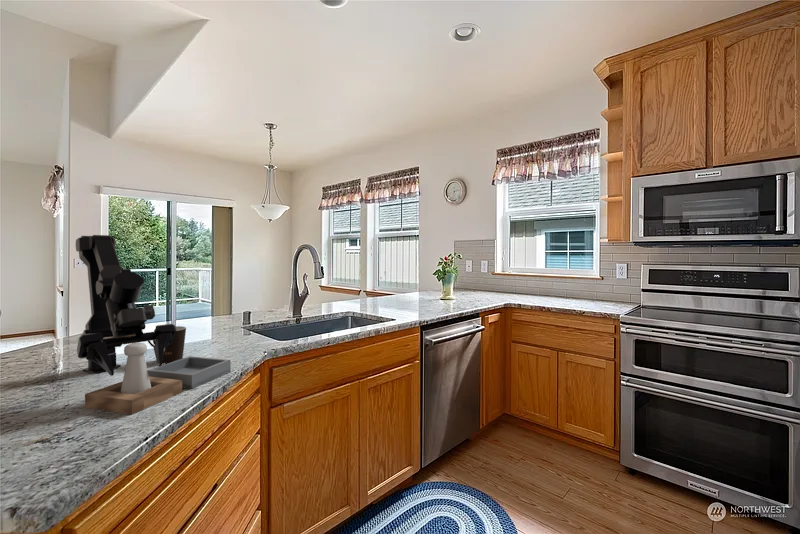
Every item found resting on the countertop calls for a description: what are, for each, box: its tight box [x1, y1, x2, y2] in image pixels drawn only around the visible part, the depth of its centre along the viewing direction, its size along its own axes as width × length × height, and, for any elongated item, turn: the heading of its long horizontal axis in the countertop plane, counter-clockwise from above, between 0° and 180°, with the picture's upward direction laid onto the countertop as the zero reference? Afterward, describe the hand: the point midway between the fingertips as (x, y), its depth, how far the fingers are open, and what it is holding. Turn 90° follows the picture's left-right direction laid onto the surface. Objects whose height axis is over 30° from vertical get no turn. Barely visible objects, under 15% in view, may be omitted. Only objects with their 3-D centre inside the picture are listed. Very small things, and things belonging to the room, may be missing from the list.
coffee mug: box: [147, 325, 187, 364], centre depth 119 cm, size 12×9×10 cm
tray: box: [147, 355, 232, 390], centre depth 102 cm, size 14×14×4 cm
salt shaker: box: [121, 342, 151, 394], centre depth 87 cm, size 6×6×13 cm
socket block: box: [84, 377, 183, 415], centre depth 87 cm, size 13×13×3 cm
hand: (137, 369), depth 86 cm, fingers open, 9 cm apart
